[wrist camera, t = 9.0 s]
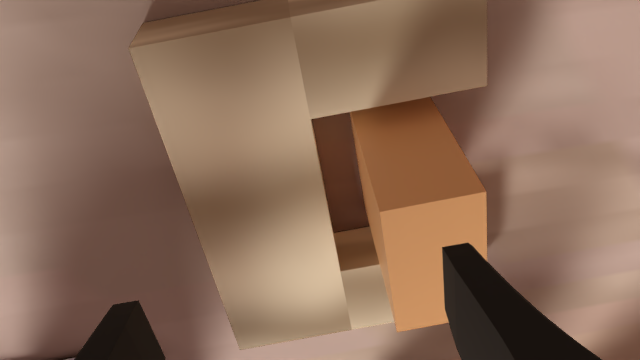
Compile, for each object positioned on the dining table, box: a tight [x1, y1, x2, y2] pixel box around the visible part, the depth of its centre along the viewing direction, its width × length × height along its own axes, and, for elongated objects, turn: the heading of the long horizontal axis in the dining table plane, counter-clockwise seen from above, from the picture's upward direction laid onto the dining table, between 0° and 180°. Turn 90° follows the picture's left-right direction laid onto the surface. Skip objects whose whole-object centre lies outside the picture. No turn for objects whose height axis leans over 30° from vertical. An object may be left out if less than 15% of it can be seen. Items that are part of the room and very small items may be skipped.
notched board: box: [128, 0, 487, 350], centre depth 22 cm, size 14×11×2 cm
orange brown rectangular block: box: [350, 97, 487, 332], centre depth 20 cm, size 5×3×7 cm, turn 10°
